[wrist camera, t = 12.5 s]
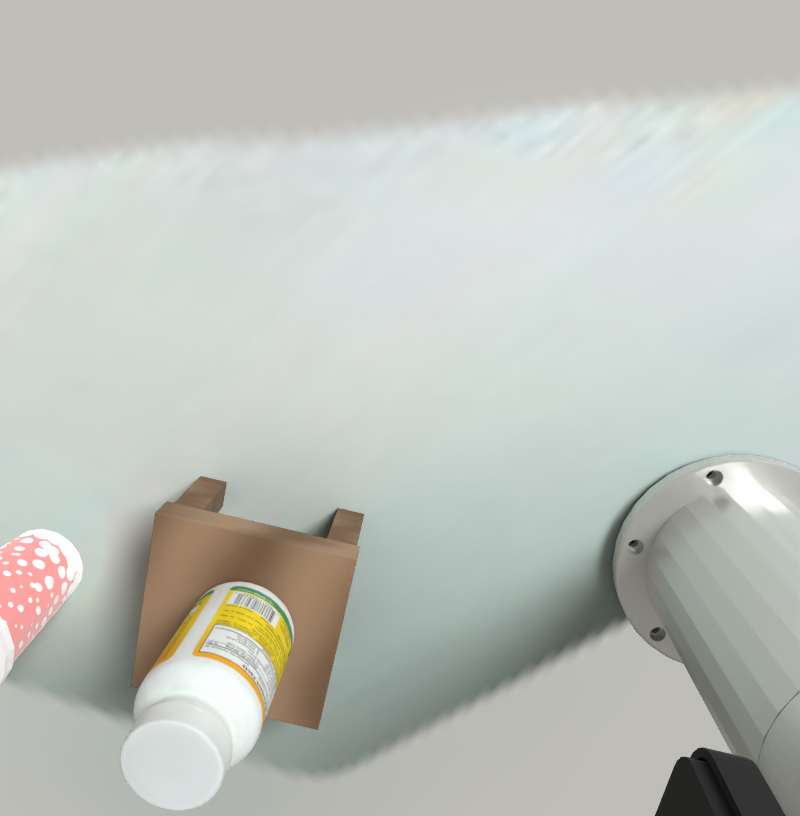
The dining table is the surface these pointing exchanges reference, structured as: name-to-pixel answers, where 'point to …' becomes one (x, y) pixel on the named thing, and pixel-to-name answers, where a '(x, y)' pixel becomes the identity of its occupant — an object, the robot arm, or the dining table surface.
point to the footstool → (259, 564)
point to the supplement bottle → (207, 696)
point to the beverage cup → (33, 588)
